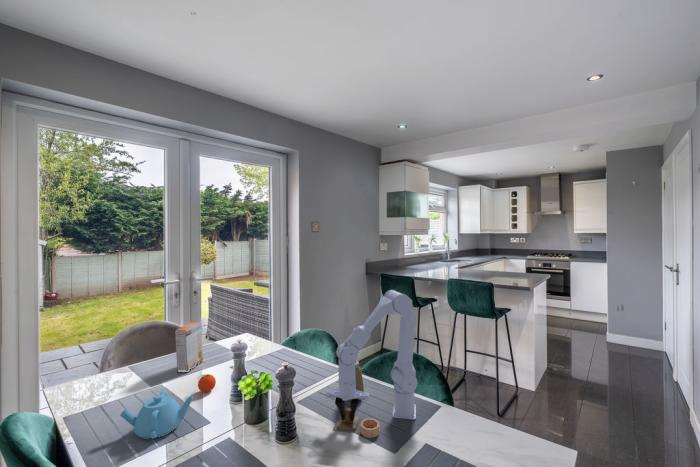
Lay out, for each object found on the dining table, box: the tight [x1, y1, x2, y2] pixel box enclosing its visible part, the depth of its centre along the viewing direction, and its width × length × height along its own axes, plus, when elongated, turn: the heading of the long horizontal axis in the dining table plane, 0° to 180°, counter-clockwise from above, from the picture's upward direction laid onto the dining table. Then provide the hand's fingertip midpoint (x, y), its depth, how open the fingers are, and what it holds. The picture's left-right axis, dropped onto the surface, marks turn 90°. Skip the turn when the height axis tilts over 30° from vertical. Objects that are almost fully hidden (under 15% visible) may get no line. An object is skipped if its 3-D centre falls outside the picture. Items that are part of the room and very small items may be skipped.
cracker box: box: [174, 321, 204, 371], centre depth 164 cm, size 14×6×21 cm, turn 175°
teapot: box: [119, 390, 194, 440], centre depth 113 cm, size 15×17×11 cm
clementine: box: [197, 374, 217, 393], centre depth 139 cm, size 8×7×7 cm
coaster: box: [331, 414, 364, 434], centre depth 112 cm, size 9×9×1 cm
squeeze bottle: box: [348, 360, 365, 402], centre depth 129 cm, size 8×8×18 cm
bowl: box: [359, 417, 381, 439], centre depth 108 cm, size 6×6×3 cm
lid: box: [337, 407, 359, 431], centre depth 112 cm, size 6×6×5 cm
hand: (348, 419), depth 112 cm, fingers open, 3 cm apart
